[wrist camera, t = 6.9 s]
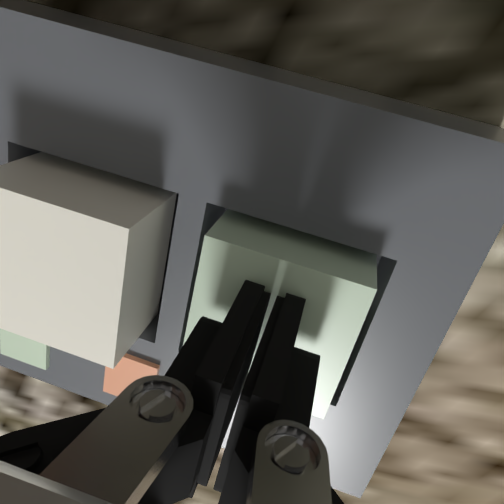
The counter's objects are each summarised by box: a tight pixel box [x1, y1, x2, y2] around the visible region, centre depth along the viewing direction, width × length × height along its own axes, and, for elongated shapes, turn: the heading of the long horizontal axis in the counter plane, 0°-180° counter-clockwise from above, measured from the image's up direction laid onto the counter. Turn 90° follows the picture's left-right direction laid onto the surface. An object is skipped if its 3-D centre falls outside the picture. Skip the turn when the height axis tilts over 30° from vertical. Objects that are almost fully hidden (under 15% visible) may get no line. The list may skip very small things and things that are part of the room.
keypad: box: [0, 0, 504, 498], centre depth 15 cm, size 21×12×4 cm, turn 77°
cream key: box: [0, 152, 177, 369], centre depth 13 cm, size 4×4×3 cm
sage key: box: [183, 209, 377, 419], centre depth 14 cm, size 4×4×3 cm
